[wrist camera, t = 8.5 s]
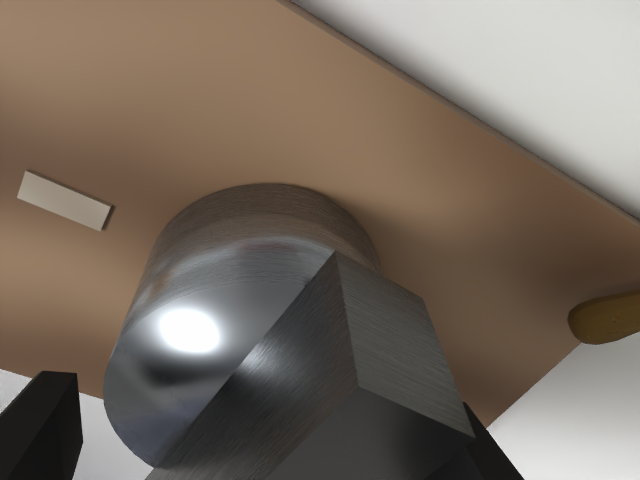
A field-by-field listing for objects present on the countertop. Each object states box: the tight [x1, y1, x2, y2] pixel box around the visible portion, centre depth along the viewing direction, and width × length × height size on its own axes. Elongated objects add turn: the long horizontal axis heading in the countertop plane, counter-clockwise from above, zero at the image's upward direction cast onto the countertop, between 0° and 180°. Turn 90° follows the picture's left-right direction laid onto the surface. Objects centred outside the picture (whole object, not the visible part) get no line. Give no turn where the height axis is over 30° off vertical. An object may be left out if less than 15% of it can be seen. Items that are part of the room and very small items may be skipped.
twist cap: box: [103, 184, 476, 480], centre depth 11 cm, size 6×8×7 cm
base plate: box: [0, 0, 640, 428], centre depth 15 cm, size 13×20×2 cm, turn 59°
